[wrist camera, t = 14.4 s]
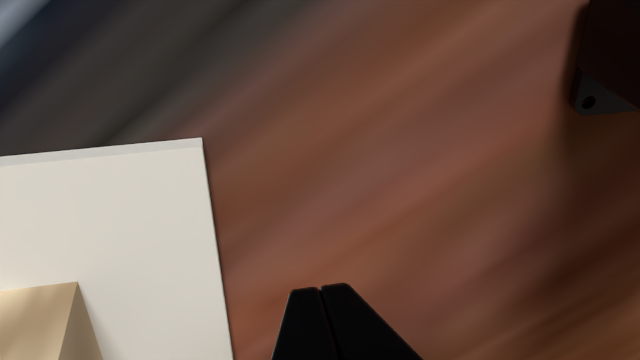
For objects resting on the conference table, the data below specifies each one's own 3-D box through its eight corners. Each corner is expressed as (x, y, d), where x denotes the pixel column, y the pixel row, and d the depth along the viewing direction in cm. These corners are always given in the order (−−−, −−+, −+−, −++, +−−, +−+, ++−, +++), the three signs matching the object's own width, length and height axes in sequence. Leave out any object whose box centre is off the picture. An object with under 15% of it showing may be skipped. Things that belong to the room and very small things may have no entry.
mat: (201, 137, 19) (202, 146, 18) (243, 431, 28) (244, 442, 27) (-283, 183, 17) (-298, 195, 17) (-73, 483, 26) (-78, 496, 25)
